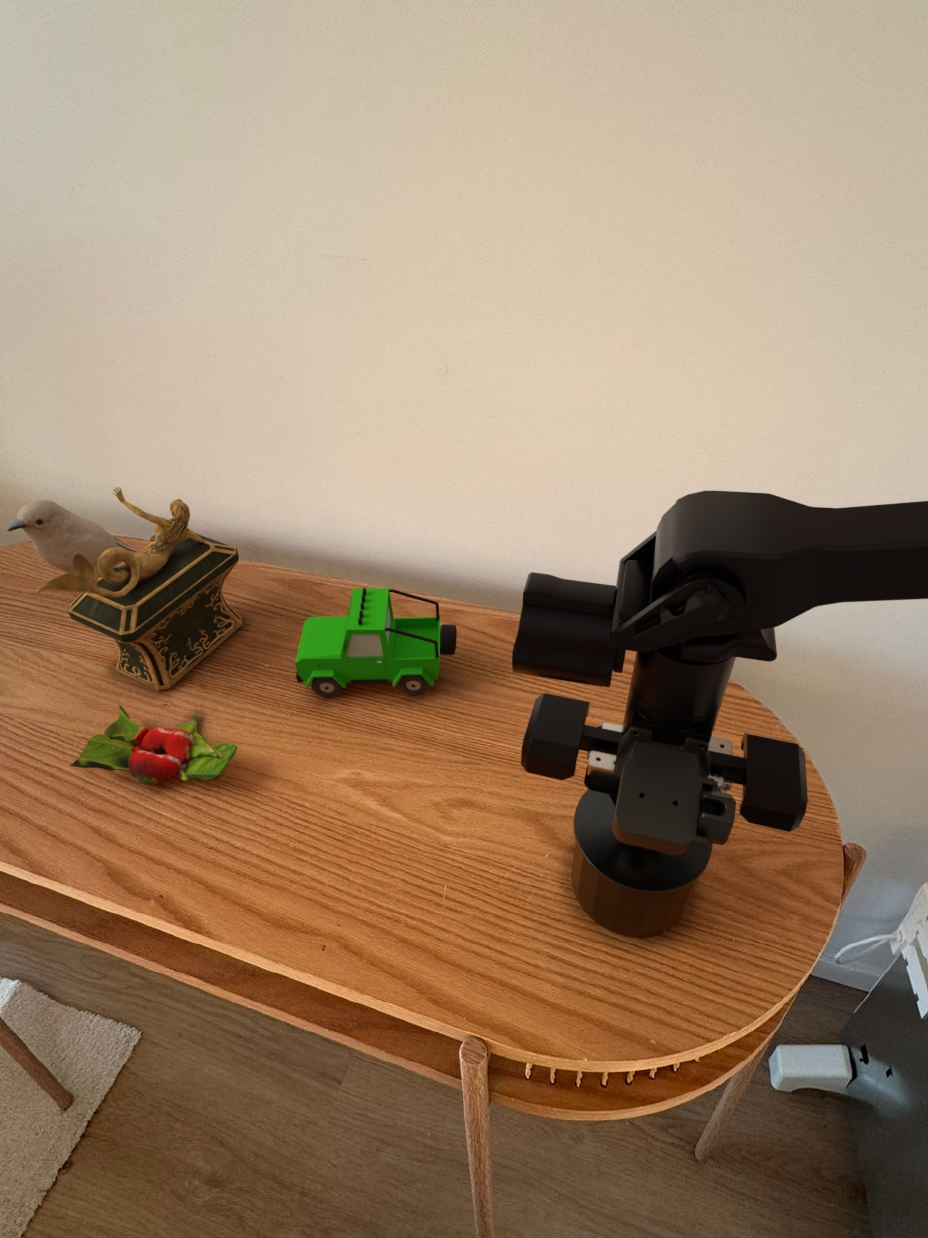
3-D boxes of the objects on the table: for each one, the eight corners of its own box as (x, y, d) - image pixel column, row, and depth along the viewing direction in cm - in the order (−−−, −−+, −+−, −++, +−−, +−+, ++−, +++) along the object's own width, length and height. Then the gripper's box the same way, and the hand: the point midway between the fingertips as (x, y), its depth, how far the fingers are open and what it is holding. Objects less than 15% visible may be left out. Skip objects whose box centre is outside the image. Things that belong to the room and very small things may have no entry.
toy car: (310, 647, 85) (295, 580, 78) (457, 644, 85) (455, 576, 78) (299, 701, 79) (281, 633, 72) (458, 698, 79) (455, 629, 72)
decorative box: (202, 593, 93) (155, 454, 80) (260, 616, 89) (221, 474, 76) (71, 696, 80) (-10, 550, 67) (133, 727, 76) (60, 580, 63)
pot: (707, 869, 63) (724, 823, 58) (657, 962, 57) (671, 920, 52) (605, 812, 67) (614, 765, 63) (550, 893, 62) (554, 848, 57)
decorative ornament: (65, 764, 69) (123, 682, 76) (91, 790, 73) (144, 709, 79) (203, 787, 65) (251, 698, 72) (223, 813, 68) (267, 726, 75)
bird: (43, 613, 91) (-12, 511, 81) (135, 559, 99) (95, 460, 89) (66, 628, 89) (13, 525, 79) (158, 571, 97) (120, 471, 87)
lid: (731, 822, 58) (746, 782, 55) (674, 927, 52) (687, 890, 48) (612, 760, 63) (619, 720, 60) (547, 849, 57) (551, 810, 53)
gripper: (502, 750, 43) (500, 886, 53) (846, 827, 38) (771, 959, 49) (542, 627, 51) (533, 766, 61) (831, 679, 46) (769, 819, 57)
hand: (642, 824), depth 57 cm, fingers closed on lid, 2 cm apart
